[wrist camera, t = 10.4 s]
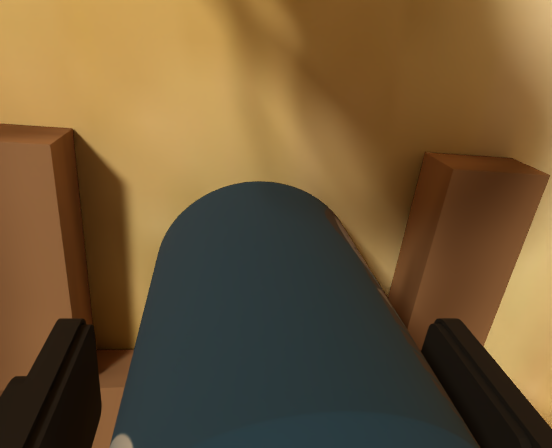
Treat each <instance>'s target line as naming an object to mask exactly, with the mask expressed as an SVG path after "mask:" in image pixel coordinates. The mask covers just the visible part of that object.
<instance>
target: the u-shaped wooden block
mask: <svg viewBox="0 0 552 448" xmlns="http://www.w3.org/2000/svg"><path fill="white" fill-rule="evenodd" d="M549 177H550V175H548V174H546V173H544V172H542V171H539V170H537V169H535V168H533V167H531V166H528V165H526V164H524V163H522V162H519V161H517V160H515V159H513V158H502V157H487V156H472V155H457V154H443V153H428V152H425V155H424V159H423V163H422V167H421V171H420V175H419V179H418V183H417V187H416V191H415V195H414V198H413V202H412V206H411V210H410V214H409V218H408V222H407V226H406V230H405V234H404V238H403V242H402V246H401V250H400V254H399V258H398V261H397V265H396V269H395V273H394V277H393V281H392V285H391V289H390V293H389V297H388V299H389V301H390V303H391V304H392V306H393V307H394V309H395V311H396V312H397V314H398V316H399V317H400V319H401V320H402V322H403V324H404V325H405V327H406V328H407V330H408V332H409V333H410V335H411V337H412V338H413V340H414V341H415V343H416V345H417V346H418V348H419V349H420V351H421V350H422V346H423V343H424V340H425V337H426V334H427V330H428V328H429V325H430V324H434V322H435V320H436V319H439V318H457V319H460V320H461V321H462V322H463V323H464V324H465V325H466V327H467V328H468V329H469V330H470V331H471V333H472V334H473V335H474V336H475V337H476V339H477V340H478V341H479V342H480V343H481V345H482V346H484V343H485V341H486V338H487V336H488V333H489V331H490V328H491V325H492V323H493V320H494V318H495V315H496V313H497V310H498V308H499V305H500V302H501V300H502V297H503V295H504V292H505V290H506V287H507V284H508V282H509V279H510V277H511V274H512V272H513V269H514V267H515V264H516V261H517V259H518V256H519V254H520V251H521V249H522V246H523V243H524V241H525V238H526V236H527V233H528V231H529V228H530V226H531V223H532V220H533V218H534V215H535V213H536V210H537V208H538V205H539V203H540V200H541V197H542V195H543V192H544V190H545V187H546V185H547V182H548V179H549ZM60 318H83V319H85V321H86V325H89V324H92V325H93V321H92V312H91V302H90V292H89V283H88V273H87V263H86V254H85V244H84V234H83V225H82V215H81V205H80V196H79V186H78V176H77V167H76V157H75V147H74V138H73V129H71V128H56V127H41V126H26V125H12V124H0V396H1V395H2V393H3V391H4V390H5V388H6V386H7V385H8V383H9V382H10V380H11V379H12V378H14V377H15V376H27V375H28V373H29V371H30V369H31V367H32V366H33V364H34V362H35V360H36V358H37V356H38V354H39V353H40V351H41V349H42V347H43V345H44V343H45V342H46V340H47V338H48V336H49V334H50V332H51V330H52V329H53V327H54V325H55V323H56V321H57V320H58V319H60ZM96 352H97V362H98V372H99V382H100V391H101V401H102V410H101V417H100V421H99V424H98V428H97V431H96V435H95V438H94V441H93V445H92V448H109V447H110V443H111V439H112V435H113V431H114V427H115V423H116V419H117V415H118V411H119V407H120V403H121V399H122V395H123V391H124V387H125V383H126V380H127V376H128V372H129V368H130V364H131V360H132V356H133V352H134V350H96Z"/></svg>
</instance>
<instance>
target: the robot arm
mask: <svg viewBox="0 0 552 448" xmlns="http://www.w3.org/2000/svg"><path fill="white" fill-rule="evenodd" d="M421 353H422V354H423V356H424V358H425V359H426V361H427V362H428V364H429V366H430V367H431V369H432V370H433V372H434V374H435V375H436V377H437V379H438V380H439V382H440V383H441V385H442V387H443V388H444V390H445V391H446V393H447V395H448V396H449V398H450V400H451V401H452V403H453V404H454V406H455V408H456V409H457V411H458V412H459V414H460V416H461V417H462V419H463V420H464V422H465V424H466V425H467V427H468V429H469V430H470V432H471V433H472V435H473V437H474V438H475V440H476V441H477V443H478V445H479V446H480V448H552V429H551V428H550V426H549V425H548V424H547V423H546V422H545V420H544V419H543V418H542V417H541V416H540V414H539V413H538V412H537V411H536V410H535V408H534V407H533V406H532V405H531V403H530V402H529V401H528V400H527V399H526V397H525V396H524V395H523V394H522V393H521V391H520V390H519V389H518V388H517V387H516V385H515V384H514V383H513V382H512V381H511V379H510V378H509V377H508V376H507V375H506V373H505V372H504V371H503V370H502V369H501V367H500V366H499V365H498V364H497V363H496V361H495V360H494V359H493V358H492V357H491V355H490V354H489V353H488V352H487V351H486V349H485V348H484V347H483V346H482V345H481V343H480V342H479V341H478V340H477V339H476V337H475V336H474V335H473V334H472V333H471V331H470V330H469V329H468V328H467V327H466V325H465V324H464V323H463V322H462V321H461V320H460V319H457V318H439V319H436V320H435V322H434V324H430V325H429V328H428V330H427V334H426V337H425V340H424V343H423V346H422V350H421ZM101 410H102V401H101V391H100V382H99V372H98V362H97V352H96V343H95V333H94V326H93V325H92V324H89V325H86V321H85V319H83V318H60V319H58V320H57V321H56V323H55V325H54V327H53V329H52V330H51V332H50V334H49V336H48V338H47V340H46V342H45V343H44V345H43V347H42V349H41V351H40V353H39V354H38V356H37V358H36V360H35V362H34V364H33V366H32V367H31V369H30V371H29V373H28V375H27V376H15V377H14V378H12V379H11V380H10V382H9V383H8V385H7V386H6V388H5V390H4V391H3V393H2V395H1V396H0V448H92V445H93V441H94V438H95V435H96V431H97V428H98V424H99V421H100V417H101Z"/></svg>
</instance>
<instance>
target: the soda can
mask: <svg viewBox="0 0 552 448" xmlns="http://www.w3.org/2000/svg"><path fill="white" fill-rule="evenodd" d="M109 448H480V446H479V445H478V443H477V441H476V440H475V438H474V437H473V435H472V433H471V432H470V430H469V429H468V427H467V425H466V424H465V422H464V420H463V419H462V417H461V416H460V414H459V412H458V411H457V409H456V408H455V406H454V404H453V403H452V401H451V400H450V398H449V396H448V395H447V393H446V391H445V390H444V388H443V387H442V385H441V383H440V382H439V380H438V379H437V377H436V375H435V374H434V372H433V370H432V369H431V367H430V366H429V364H428V362H427V361H426V359H425V358H424V356H423V354H422V353H421V351H420V349H419V348H418V346H417V345H416V343H415V341H414V340H413V338H412V337H411V335H410V333H409V332H408V330H407V328H406V327H405V325H404V324H403V322H402V320H401V319H400V317H399V316H398V314H397V312H396V311H395V309H394V307H393V306H392V304H391V303H390V301H389V299H388V298H387V296H386V295H385V293H384V291H383V290H382V288H381V287H380V285H379V283H378V282H377V280H376V278H375V277H374V275H373V274H372V272H371V270H370V269H369V267H368V266H367V264H366V262H365V261H364V259H363V257H362V256H361V254H360V253H359V251H358V249H357V248H356V246H355V245H354V243H353V241H352V240H351V238H350V236H349V235H348V233H347V232H346V230H345V228H344V227H343V225H342V224H341V222H340V221H339V219H338V218H337V216H336V215H335V214H334V213H333V212H332V211H331V210H330V209H329V208H328V207H327V206H326V205H325V204H324V203H322V202H321V201H320V200H319V199H317V198H316V197H314V196H312V195H311V194H309V193H307V192H305V191H303V190H300V189H298V188H295V187H292V186H289V185H285V184H280V183H274V182H262V181H257V182H244V183H238V184H233V185H229V186H226V187H223V188H220V189H218V190H215V191H213V192H211V193H209V194H207V195H205V196H203V197H202V198H200V199H198V200H197V201H195V202H194V203H193V204H191V205H190V206H189V207H188V208H186V209H185V210H184V211H183V212H182V213H181V214H180V215H179V216H178V217H177V219H176V220H175V221H174V222H173V224H172V225H171V226H170V228H169V229H168V231H167V233H166V235H165V236H164V239H163V241H162V243H161V246H160V249H159V252H158V256H157V260H156V264H155V268H154V272H153V276H152V280H151V284H150V288H149V292H148V296H147V300H146V304H145V308H144V312H143V316H142V320H141V324H140V328H139V332H138V336H137V340H136V344H135V348H134V352H133V356H132V360H131V364H130V368H129V372H128V376H127V380H126V383H125V387H124V391H123V395H122V399H121V403H120V407H119V411H118V415H117V419H116V423H115V427H114V431H113V435H112V439H111V443H110V447H109Z"/></svg>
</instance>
